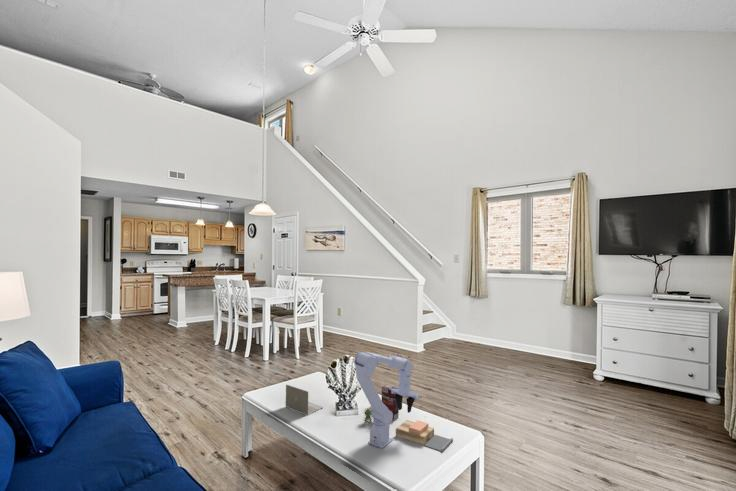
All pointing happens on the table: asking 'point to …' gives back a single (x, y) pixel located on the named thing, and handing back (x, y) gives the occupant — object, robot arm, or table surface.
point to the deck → (421, 439)
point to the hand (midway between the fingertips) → (404, 410)
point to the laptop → (299, 401)
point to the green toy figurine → (367, 415)
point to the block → (418, 427)
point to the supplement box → (390, 400)
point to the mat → (438, 443)
